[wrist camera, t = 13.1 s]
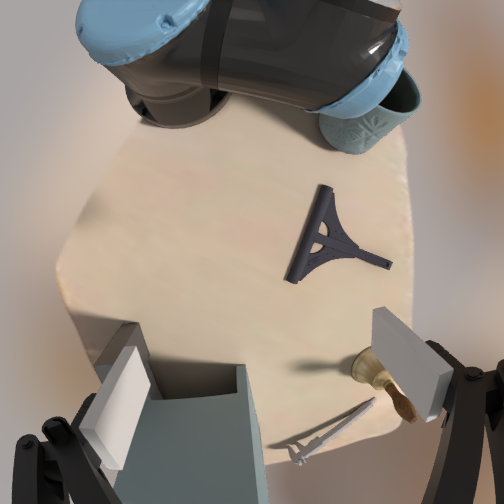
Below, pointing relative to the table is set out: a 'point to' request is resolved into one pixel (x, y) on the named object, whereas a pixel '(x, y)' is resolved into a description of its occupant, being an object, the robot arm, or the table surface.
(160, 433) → the cabinet
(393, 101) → the grey-green hollow cylinder
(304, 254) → the dark squeegee
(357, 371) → the hand bell
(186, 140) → the table surface
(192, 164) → the table surface
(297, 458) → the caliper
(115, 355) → the grey l-bracket
